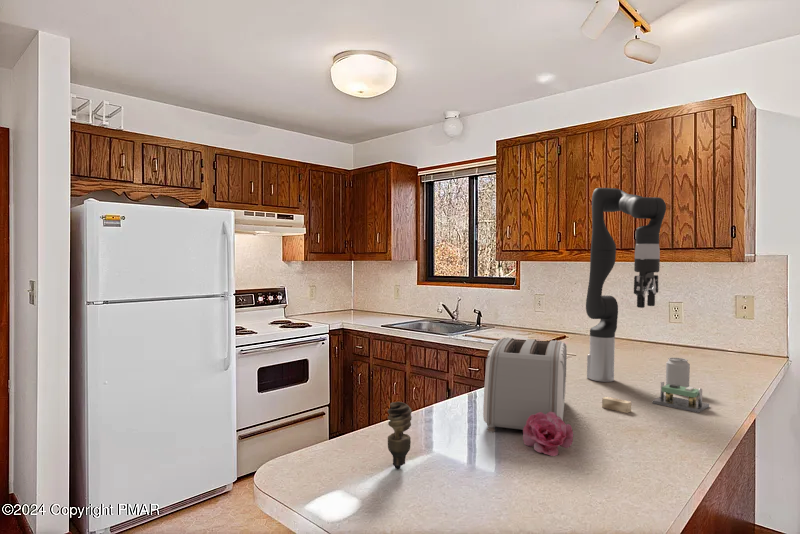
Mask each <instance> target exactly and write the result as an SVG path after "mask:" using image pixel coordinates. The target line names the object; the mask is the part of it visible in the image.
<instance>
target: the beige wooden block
mask: <svg viewBox="0 0 800 534" xmlns="http://www.w3.org/2000/svg"><path fill="white" fill-rule="evenodd" d="M601 403H602V404H601V408H602V409H603V408H604V409H607V410H612V411H616V412H620V413H625V414H628V413H631V411H632V401H630V400H625V399H620V398H615V397H610V396H604V397H602V402H601Z"/></svg>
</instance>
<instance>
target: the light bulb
mask: <svg viewBox="0 0 800 534" xmlns="http://www.w3.org/2000/svg"><path fill="white" fill-rule="evenodd" d="M389 407H390V408H388V409H387V414H388V416H387V419H388V422H387V425H388V426H389V427H390V428H392V429H393V433H391V434H389V435H388V436H387V449H388V451H389V453H390V454H391V456H392V465H393V467H394V468H395V469H396V470H399V469H400V468H401V467H402V466H403V465H405V464H406V456H407V455H408V453H409V452H410V451H411V436H410V435H409V434H407V433H404V432H406V431H408V430H409V429H410V428H411V426H412V422H411V421H412V414H413V413H412V411H413V410H412V408H411V407H410V406H409V405H408V404H406V403H405V402H402V401H395V402H394V401H393V402H390V404H389Z"/></svg>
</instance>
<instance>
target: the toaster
mask: <svg viewBox="0 0 800 534" xmlns="http://www.w3.org/2000/svg"><path fill="white" fill-rule="evenodd" d="M567 351H568V350H567V345H566V343H565V342H562V341H561V340H557V339H555V340H552V339H551V340H537V339H531V338H527V339H517V338H513V337H507V336H506V337H502V338H500V339H497V340H496V341H495V342H494V343H493V345H491V347H490V349H489V350H488V352H487V357H486V359H485V374H484V375H485V376H484V387H483V413H482V414H483V415H482V416H483V421H484V422H485V423H486V425H487V426H486V427H487V429H486V430H487V432H489V433H496V429H495V428H496V427H497V428H504V429H505V428H506V429H514V430H522V431H523V428H524V426H525V425H526V421H527V419H528V418H529V416H530V415H532V414H533V415H535V414H536V413H539V412H542V413H544V414H547V413H548V412H550V411H551V412H554V413H556V415H557V416H558V417H560V418H561V419H562V421H564V410H565V401H566V400H565V399H566V388H567V387H566V385H567V384H566V382H567V380H566V379H567Z"/></svg>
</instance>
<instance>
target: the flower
mask: <svg viewBox="0 0 800 534" xmlns="http://www.w3.org/2000/svg"><path fill="white" fill-rule="evenodd" d="M522 439H523V440H522V441H523V444H524V445H525V446H527V447H531V448H532V447H533V449H534V451H536V452H537V453H543V454H544V455H548V456H551V457H556V456H559V453H560V452H559V450H560V449H559V446H560V447H562V448H565V449H568V448H570V447H571V446H572V445H573V440H574V432H573V428H572V425H571V424H570V423H567V424H566V423H565V421H564V420H563V421H562V419H561V418H560V417H558V416H557V415H556V413H554V412H551V411H550V412H548V413H547V414H544V413H542V412H539V413H536V414H535V415H533V414H532V415H530V416H529V418H528V419H527V421H526V425H525V426H524V428H523V430H522Z"/></svg>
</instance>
